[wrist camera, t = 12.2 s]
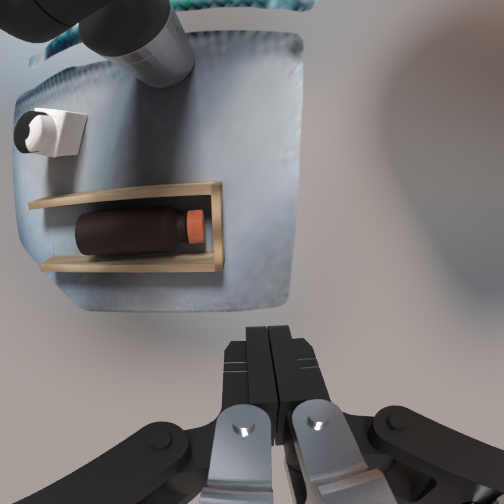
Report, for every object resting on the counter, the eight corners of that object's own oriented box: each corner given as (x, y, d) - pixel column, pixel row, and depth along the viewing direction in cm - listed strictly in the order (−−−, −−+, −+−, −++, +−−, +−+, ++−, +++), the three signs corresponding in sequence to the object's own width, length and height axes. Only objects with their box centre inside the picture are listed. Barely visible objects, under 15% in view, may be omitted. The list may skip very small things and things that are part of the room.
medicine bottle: (48, 149, 38) (5, 154, 27) (57, 110, 36) (14, 105, 24) (78, 155, 39) (35, 161, 28) (88, 114, 37) (47, 108, 25)
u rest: (44, 197, 41) (28, 203, 36) (222, 181, 42) (219, 185, 37) (55, 261, 45) (41, 271, 40) (224, 258, 46) (222, 271, 42)
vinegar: (69, 230, 35) (200, 219, 37) (85, 205, 40) (202, 194, 42) (83, 264, 40) (204, 258, 41) (96, 238, 45) (206, 231, 46)
